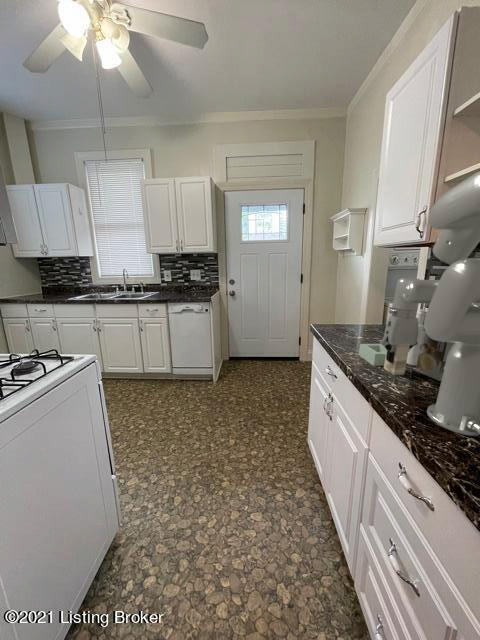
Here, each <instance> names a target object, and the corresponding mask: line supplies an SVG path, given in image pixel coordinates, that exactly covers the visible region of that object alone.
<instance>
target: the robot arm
mask: <svg viewBox="0 0 480 640" xmlns="http://www.w3.org/2000/svg"><path fill="white" fill-rule="evenodd" d="M428 224H429V226H430V227H431V228H432V229H434V230H441V231H442V230H443V231H442V232H441V234H440V236H438V239H437V240H436V242H435V244H434V245H433V247H432V253H433V255H434V256H435V257H436V258H437V259H438V260H439V261H441V262H442V263H446V264H447V265H449V266H448V267H447V268H446V269H445V270H444V272H443V273H442V274H441V277H440V279H420V278H414V277H402V278H401V277H400V278H399V279H397V281H396V287H395V291H394V298H393V305H392V309H391V310H389V314H390V316H389V317H388V320H387V322H386V326H385V328H384V329H385V330H384V332H383V333H384V334H383V337H382V338H381V340H379V344H381V345H383V346H384V347H385V348H386V350H387V355H386V360H387V361H389V362H390V363H393V359H394V352H393V351H394V349H395V346H398V345H399V344H410V346H409V350H410V349H411V348H412V347H413V346H415V345H417V344H418V342H417V338H418V328H419V324H418V318H416V315H417V312H418V309H419V305H420V304H421V305H422V304H423V305H424V304H428V308H427V311H426V312H425V316H424V321H423V325H424V329H423V330H424V331H425V332H426V334H427V335H428V336H429V337H430V338H431V339H433V340H436V341H440V342H454V343H455V344H454V345H453V346H452V348H451V349H450V351H449V353H448V355H447V359H446V363H445V368H444V372H443V376H442V380H441V381H440V386H439V390H438V394H437V398H436V402H435V404H431V405H429V406H428V407H427V410H426V413H427V417H429V418H430V419H431V420H432V421H433V422H434V423H435V424H437V425H439V426H440V427H442V428H444V429H446V430H449V431H452V432H455V433H456V434H457V433H458V434H461V435H464V436H469V437H472V436H473V437H479V436H478V435H480V257H469V256H470V255H471V253H472V252H473V251H474V250H475V248H476V247H477V246H478V244H479V243H480V170H479V171H477V172H474V173H473V174H472V175H470V176H469V177H467V178H465V179H463V181H461V182H460V183H458V184H457V185H455V186H453V187H452V188H450V189H448V190H447V191H446V192H445V193H443V194H442V195H441V196H440V197H439V198H438V199H437V200H436V201H435V203H434V204H433V205H432V207H431V209H430V211H429V214H428ZM468 257H469V258H468Z"/></svg>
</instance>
